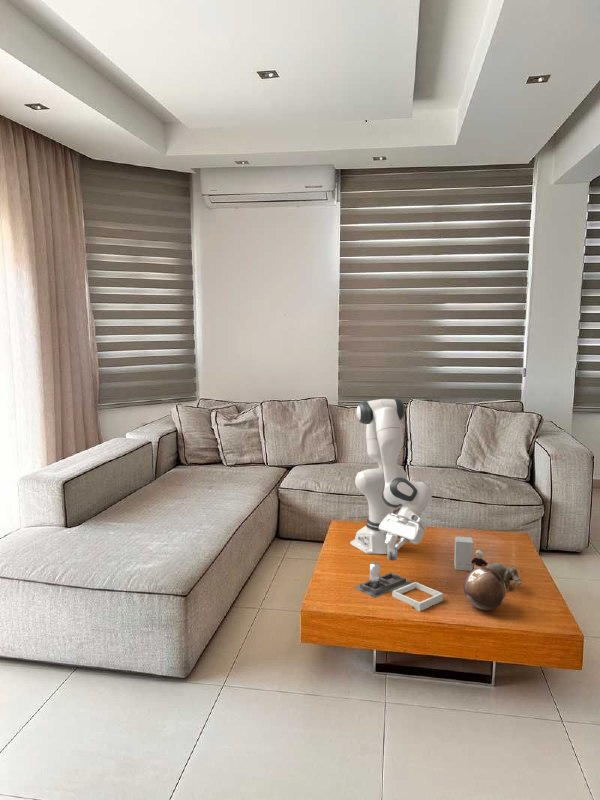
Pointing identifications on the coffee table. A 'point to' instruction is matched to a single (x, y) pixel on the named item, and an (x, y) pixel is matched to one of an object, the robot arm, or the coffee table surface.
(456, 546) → the supplement box
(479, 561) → the grandmother figurine
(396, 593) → the white square frame
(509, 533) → the coffee table surface
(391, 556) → the ball
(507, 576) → the rhinoceros figurine
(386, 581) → the tray
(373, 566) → the seated billet
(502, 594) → the brown metallic sphere
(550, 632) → the coffee table surface
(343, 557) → the coffee table surface
